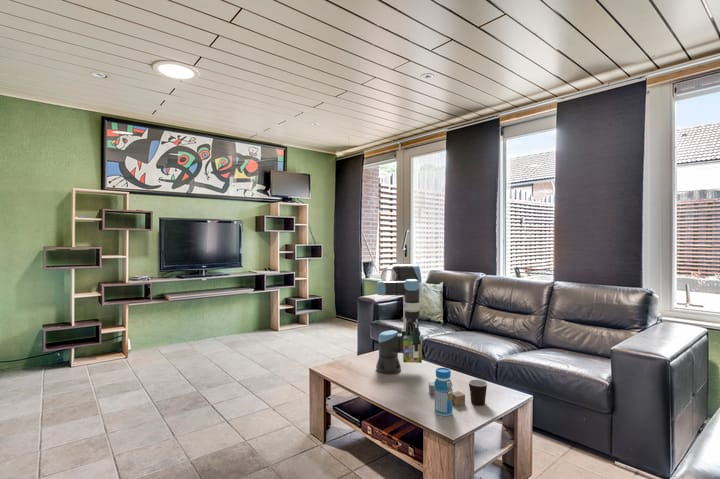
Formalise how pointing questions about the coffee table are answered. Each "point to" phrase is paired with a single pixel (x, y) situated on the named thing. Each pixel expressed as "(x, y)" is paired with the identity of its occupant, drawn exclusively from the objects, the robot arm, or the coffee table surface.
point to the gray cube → (431, 388)
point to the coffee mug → (478, 392)
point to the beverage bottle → (443, 392)
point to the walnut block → (458, 398)
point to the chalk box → (410, 349)
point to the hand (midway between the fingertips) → (412, 353)
